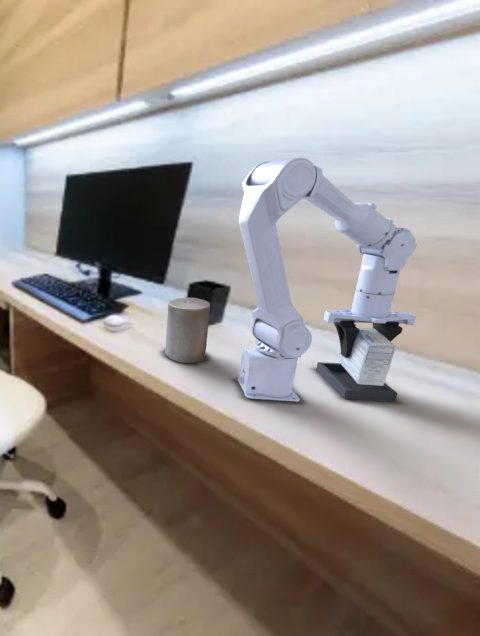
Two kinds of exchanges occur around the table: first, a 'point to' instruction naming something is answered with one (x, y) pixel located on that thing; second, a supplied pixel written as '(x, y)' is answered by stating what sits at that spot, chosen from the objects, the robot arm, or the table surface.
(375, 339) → the medicine box
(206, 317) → the pillar candle
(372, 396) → the pad
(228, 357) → the table surface
